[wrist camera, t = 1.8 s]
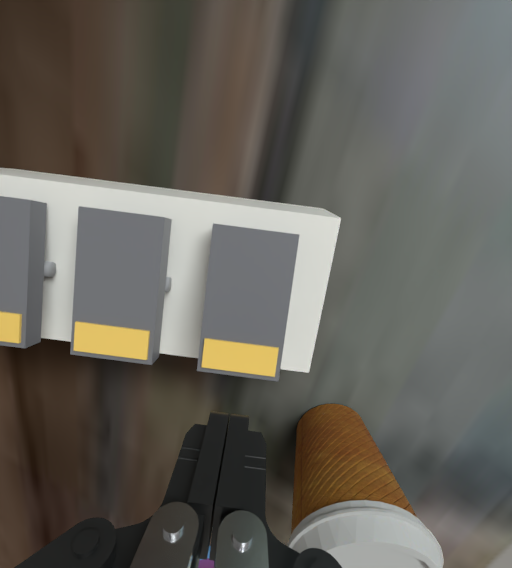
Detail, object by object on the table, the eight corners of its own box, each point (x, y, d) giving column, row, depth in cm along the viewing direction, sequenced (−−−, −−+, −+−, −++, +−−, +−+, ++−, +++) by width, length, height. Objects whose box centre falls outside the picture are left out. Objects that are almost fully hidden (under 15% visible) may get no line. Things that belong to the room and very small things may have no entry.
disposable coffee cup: (399, 443, 29) (482, 613, 18) (312, 481, 31) (335, 655, 20) (350, 370, 27) (409, 511, 15) (260, 417, 29) (253, 571, 17)
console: (12, 168, 23) (-92, 163, 16) (323, 208, 22) (344, 220, 16) (29, 297, 26) (-52, 337, 19) (299, 333, 26) (309, 384, 19)
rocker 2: (91, 208, 17) (76, 205, 16) (171, 219, 17) (164, 216, 16) (82, 347, 18) (68, 355, 17) (158, 357, 18) (150, 365, 17)
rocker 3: (216, 225, 17) (212, 223, 16) (296, 235, 17) (299, 234, 16) (201, 362, 18) (196, 371, 17) (277, 372, 18) (278, 382, 17)
